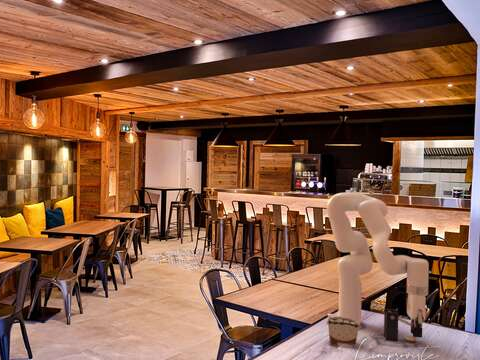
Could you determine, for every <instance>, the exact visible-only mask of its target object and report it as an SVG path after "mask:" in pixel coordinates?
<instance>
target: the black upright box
mask: <svg viewBox="0 0 480 360" xmlns="http://www.w3.org/2000/svg"><path fill="white" fill-rule="evenodd" d="M388 311H391V312H388ZM383 312H384V314H383V337H384V339H385V341H389V342H396V343H397V342H399V320H398V317H399V315H400V314H399V312H397V310H396V309H389V308H384V311H383Z"/></svg>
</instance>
